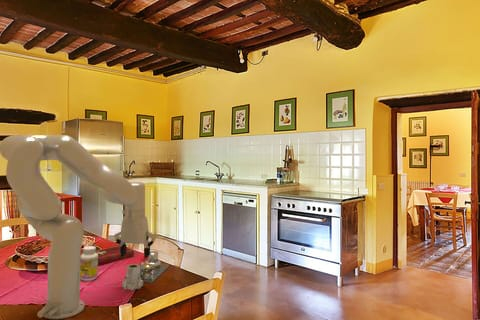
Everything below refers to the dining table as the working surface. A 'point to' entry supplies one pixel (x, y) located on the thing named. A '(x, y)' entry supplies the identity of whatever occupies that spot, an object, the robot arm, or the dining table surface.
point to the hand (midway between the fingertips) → (135, 256)
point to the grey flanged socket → (132, 278)
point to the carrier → (152, 268)
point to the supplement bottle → (89, 264)
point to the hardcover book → (113, 254)
